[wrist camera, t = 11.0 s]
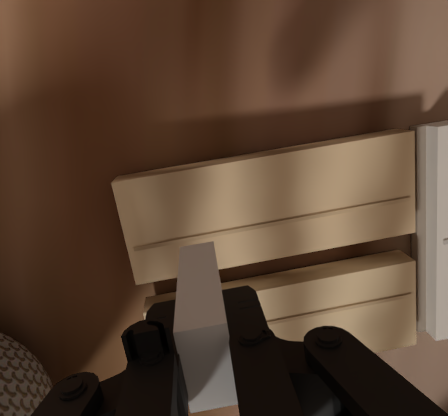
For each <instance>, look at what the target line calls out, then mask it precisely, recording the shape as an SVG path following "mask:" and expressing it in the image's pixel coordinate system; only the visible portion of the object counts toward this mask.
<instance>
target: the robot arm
mask: <svg viewBox="0 0 448 416" xmlns="http://www.w3.org/2000/svg"><path fill="white" fill-rule="evenodd" d="M121 338H122V342H123V346H124V350H125V354H126V357H127V361H128V363H127V367H126V370H124V371H123V372H121V373H120V374H118V375H115V376H113V377H111V378H109V379H106V380H104V381H101V382H99V378H98V376H97V375H95V374H94V373H90V372H82V373H76V374H73V375H71V376H68V377H66V378H65V379H63V380H62V381H60V382H58V383H57V384H56V385H55V386H54V387H53V388H52V389H51V390H50V391H49V393H48V394H47V395H46V396H45V398H44V399H43V400H42V401H41V403H40V404H39V405H38V407H37V408H36V409H35V410H34V412H33V413H32V414H31V416H188V403H189V408H190V413H195V412H200V411H205V410H210V409H215V408H221V407H226V406H231V405H236V404H238V407H239V414H240V416H448V414H447V413H446V412H445V411H443V410H442V409H441V408H440V407H439V406H437V405H436V404H435V403H434V402H433V401H431V400H430V399H429V398H428V397H427V396H425V395H424V394H423V393H422V392H421V391H419V390H418V389H417V388H416V387H414V386H413V385H412V384H411V383H410V382H408V381H407V380H406V379H405V378H404V377H402V376H401V375H400V374H399V373H398V372H396V371H395V370H394V369H393V368H392V367H390V366H389V365H388V364H387V363H386V362H384V361H383V360H382V359H381V358H380V357H378V356H377V355H376V354H375V353H374V352H372V351H371V350H370V349H369V348H368V347H366V346H365V345H364V344H363V343H362V342H360V341H359V340H358V339H357V338H356V337H354V336H353V335H352V334H351V333H350V332H348V331H346V330H344V329H343V328H339V327H335V326H321V327H316V328H313V329H312V330H310V331H308V332H307V333H306V335H305V336H304V341H288V340H284V339H280V338H278V337H276V336H275V334H274V333H273V331H272V330H271V329H269V327H268V324H267V321H266V318H265V315H264V313H263V310H262V307H261V304H260V301H259V298H258V296H257V293H256V291H255V290H254V289H253V288H251V287H250V286H248V285H246V286H241V287H235V288H230V289H224V290H222V288H221V282H220V276H219V270H218V265H217V259H216V253H215V247H214V241H212V242H206V243H200V244H194V245H189V246H183V247H180V253H179V265H178V277H177V290H176V299H175V300H169V301H164V302H158V303H154V304H153V305H152V306H151V307H150V308H149V310H148V311H147V313H146V317H145V320H142V321H139V322H137V323H135V324H133V325H131V326H130V327H128V328H127V329H126V330H125V331H124V332H123V334H122V336H121Z"/></svg>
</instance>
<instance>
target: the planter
mask: <svg viewBox="0 0 448 416" xmlns="http://www.w3.org/2000/svg"><path fill="white" fill-rule="evenodd" d="M52 388H53V385H52V382H51V380H50V378H49V376H48V374H47V372H46V371H45V369H44V367H43V366H42V364H41V363H40V362H39V360H38V359H37V358H36V357H35V356H34V355H33V354H32V353H31V352H30V351H29V350H28V349H27V348H26V347H25V346H23V345H22V344H20V343H19V342H17V341H16V340H15V339H13V338H11V337H9V336H7V335H5V334H3V333H1V332H0V416H31V414H32V413H33V412H34V410H35V409H36V408H37V407H38V405H39V404H40V403H41V401H42V400H43V399H44V398H45V396H46V395H47V394H48V393H49V391H50V390H51V389H52Z"/></svg>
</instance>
